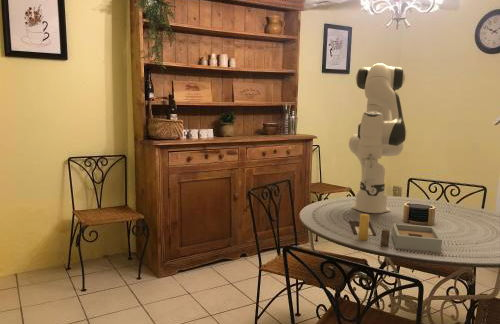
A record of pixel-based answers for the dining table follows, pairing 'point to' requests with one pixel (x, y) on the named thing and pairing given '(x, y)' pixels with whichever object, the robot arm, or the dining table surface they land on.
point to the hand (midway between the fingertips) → (367, 187)
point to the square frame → (416, 238)
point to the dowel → (363, 227)
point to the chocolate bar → (356, 228)
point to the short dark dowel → (385, 237)
